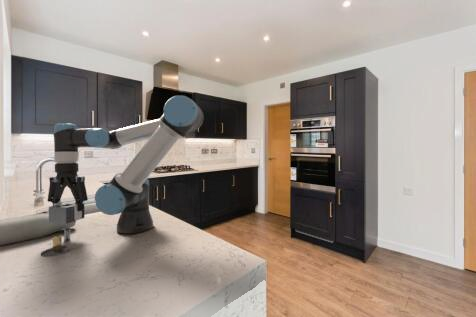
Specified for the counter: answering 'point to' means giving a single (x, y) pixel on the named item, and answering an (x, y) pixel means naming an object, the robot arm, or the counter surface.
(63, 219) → the collar
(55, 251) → the hub
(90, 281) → the counter surface
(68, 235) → the stand
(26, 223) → the grey cylindrical pipe
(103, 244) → the counter surface
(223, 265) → the counter surface
